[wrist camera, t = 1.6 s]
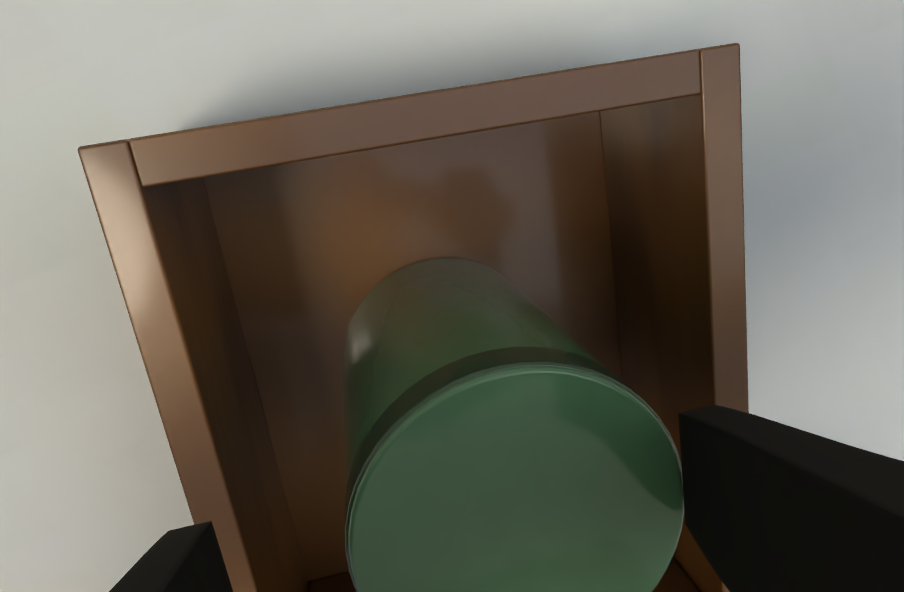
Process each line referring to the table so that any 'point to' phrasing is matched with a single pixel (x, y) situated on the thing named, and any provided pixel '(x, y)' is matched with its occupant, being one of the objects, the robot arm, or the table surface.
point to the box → (414, 240)
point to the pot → (495, 447)
